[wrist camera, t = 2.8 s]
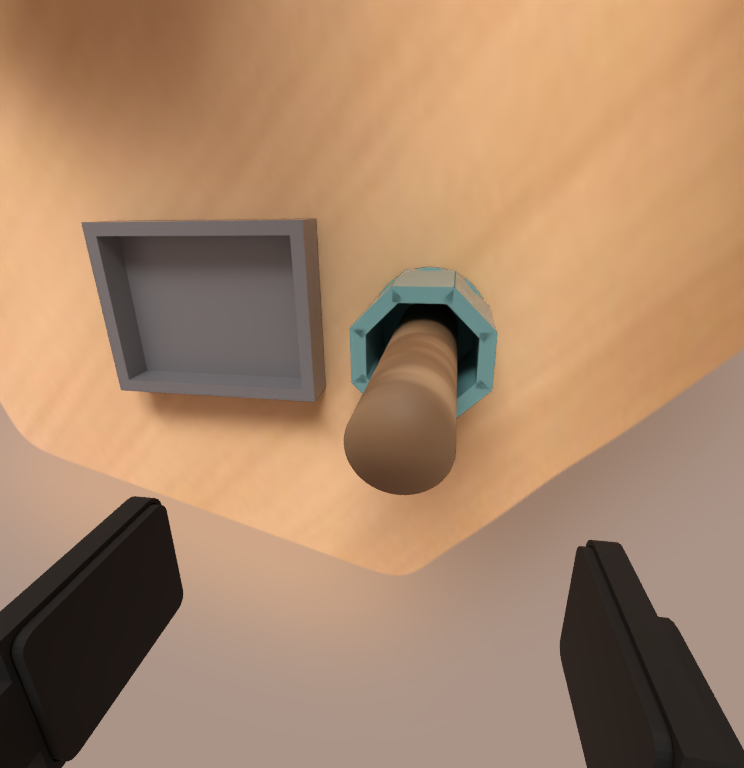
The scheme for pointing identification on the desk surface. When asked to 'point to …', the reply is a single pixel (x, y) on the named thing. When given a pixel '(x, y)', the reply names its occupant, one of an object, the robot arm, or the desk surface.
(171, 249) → the tray
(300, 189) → the desk surface
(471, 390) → the cup
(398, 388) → the dowel
